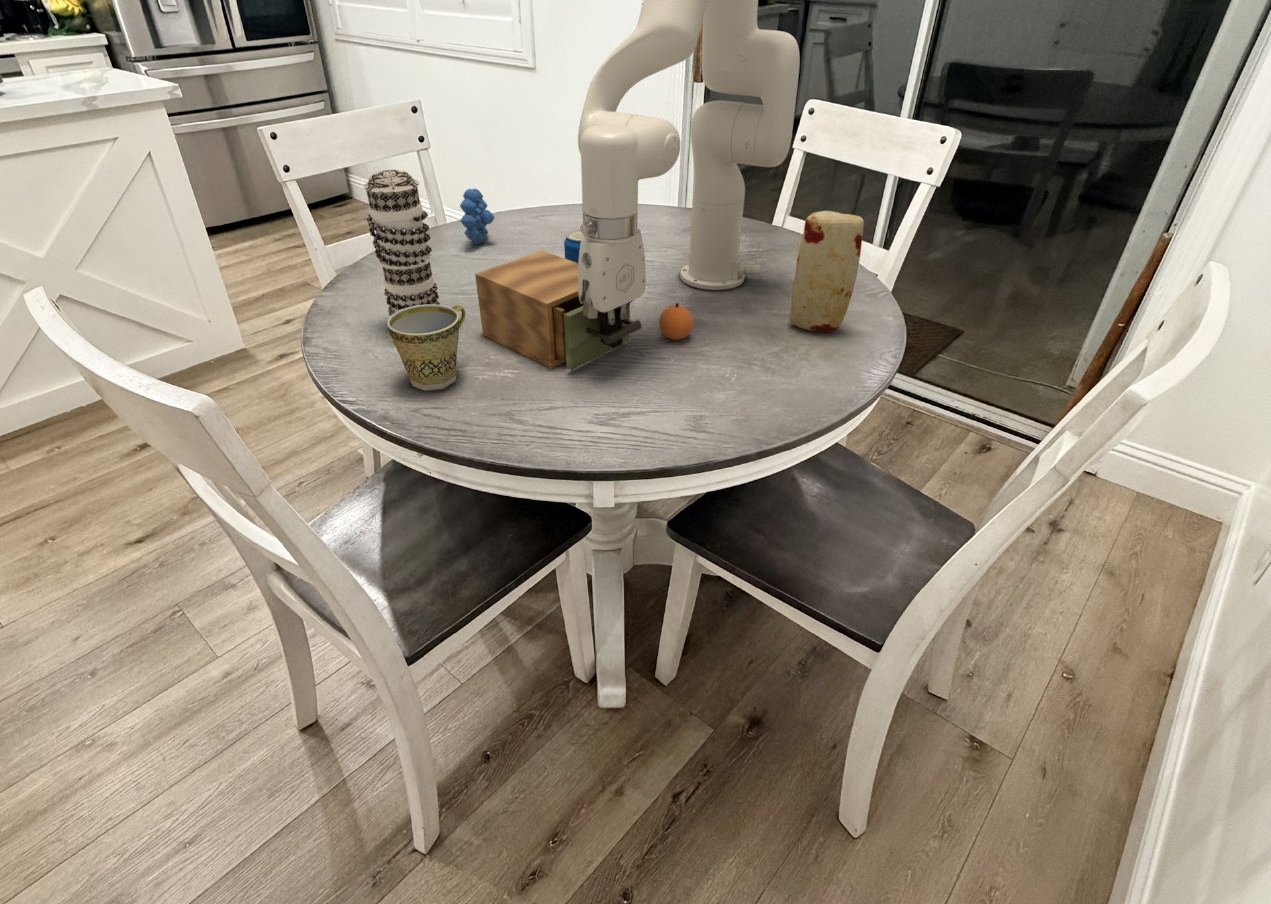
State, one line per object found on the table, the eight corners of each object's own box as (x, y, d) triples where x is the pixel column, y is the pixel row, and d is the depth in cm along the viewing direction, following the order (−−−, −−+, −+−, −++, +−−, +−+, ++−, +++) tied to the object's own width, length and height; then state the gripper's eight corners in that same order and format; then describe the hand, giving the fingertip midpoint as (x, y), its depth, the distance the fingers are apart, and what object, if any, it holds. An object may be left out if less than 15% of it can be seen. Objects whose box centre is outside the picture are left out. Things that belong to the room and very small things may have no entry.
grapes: (489, 254, 148) (482, 196, 141) (458, 252, 149) (450, 194, 141) (505, 236, 157) (499, 180, 150) (475, 234, 158) (468, 179, 151)
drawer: (654, 351, 112) (655, 299, 107) (596, 382, 104) (595, 327, 99) (563, 313, 123) (560, 264, 118) (505, 338, 115) (499, 287, 110)
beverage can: (597, 307, 127) (595, 242, 120) (562, 304, 128) (559, 239, 121) (605, 293, 132) (604, 230, 125) (572, 290, 133) (569, 227, 126)
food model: (786, 333, 119) (804, 215, 108) (788, 317, 125) (805, 202, 113) (845, 339, 118) (869, 220, 106) (844, 322, 123) (868, 207, 111)
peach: (694, 332, 120) (696, 298, 116) (689, 347, 115) (691, 312, 112) (661, 329, 120) (662, 295, 117) (656, 343, 116) (657, 309, 112)
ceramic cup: (434, 404, 100) (422, 340, 94) (385, 384, 105) (371, 323, 99) (495, 366, 109) (487, 306, 103) (447, 350, 114) (438, 291, 108)
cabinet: (614, 337, 118) (613, 276, 111) (551, 368, 109) (547, 303, 103) (545, 308, 127) (541, 250, 120) (482, 335, 118) (474, 273, 112)
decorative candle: (427, 309, 126) (401, 162, 111) (455, 326, 121) (432, 174, 106) (380, 325, 121) (346, 173, 106) (407, 343, 115) (376, 186, 101)
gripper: (591, 244, 90) (594, 369, 101) (665, 217, 100) (661, 335, 110) (551, 231, 94) (558, 352, 105) (626, 206, 104) (626, 321, 114)
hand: (611, 343), depth 108 cm, fingers closed
